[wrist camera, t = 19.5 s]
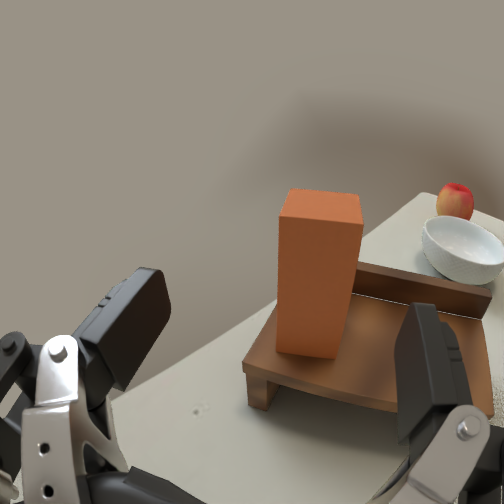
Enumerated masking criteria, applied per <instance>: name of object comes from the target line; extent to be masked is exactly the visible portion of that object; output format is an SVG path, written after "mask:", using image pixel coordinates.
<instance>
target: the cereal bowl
mask: <svg viewBox="0 0 504 504" xmlns="http://www.w3.org/2000/svg"><path fill="white" fill-rule="evenodd" d="M422 247H423V251H424V253H425V256H426V257H427V260H428V261H429V262H430V263H431V265H432V266H433V267H434V268H435V269H436V270H437V271H439V272H440V273H441V274H443V275H444V276H446V277H447V278H449V279H450V280H453V281H455V282H459V283H463V284H468V285H483V284H486V283H489V282H490V281H492V280H493V279H495V278H496V277H497V276H498V275H499V273H500V272H501V271H502V269H503V267H504V245H503V244H502V243H501V241H500V240H499V239H498V238H497V237H496V236H495V235H493V234H492V233H491V232H489V231H488V230H486V229H485V228H483V227H481V226H479V225H477V224H475V223H473V222H470V221H468V220H465V219H462V218H458V217H452V216H435V217H431V218H429V219H428V220H427V221H426V222H425V224H424V228H423V232H422Z"/></svg>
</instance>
